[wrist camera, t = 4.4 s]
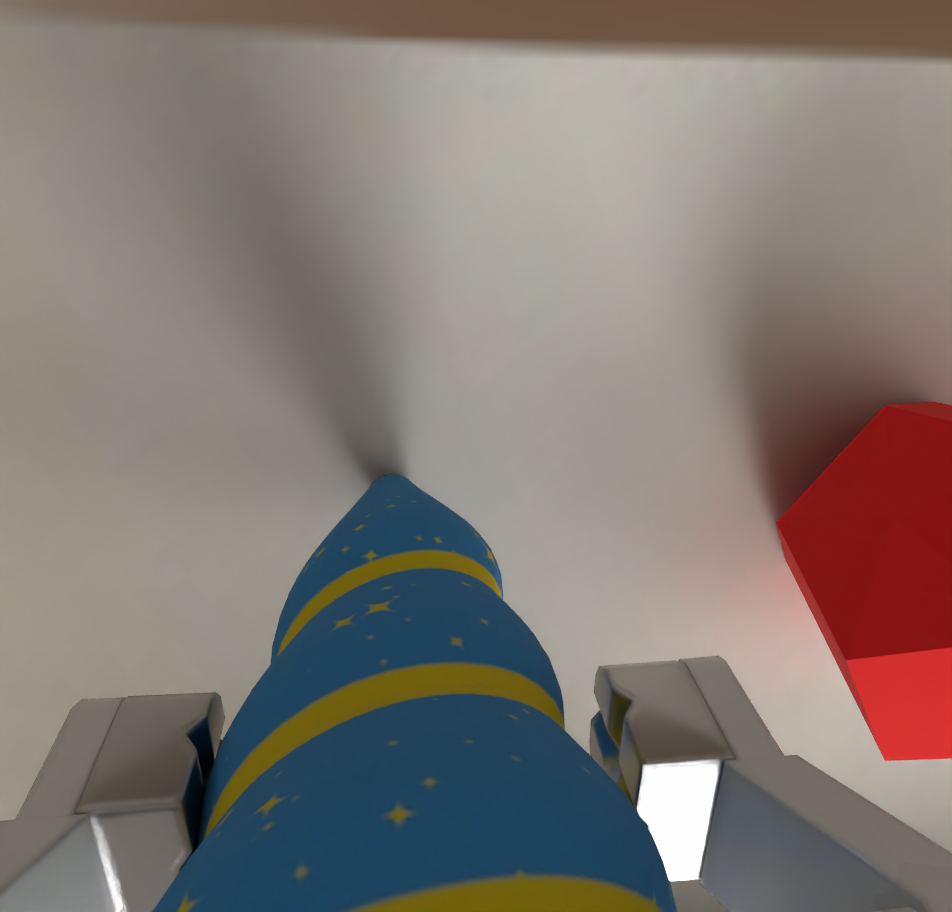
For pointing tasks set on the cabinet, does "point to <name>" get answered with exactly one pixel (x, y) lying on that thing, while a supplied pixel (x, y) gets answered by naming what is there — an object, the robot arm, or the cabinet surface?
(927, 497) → the red dodecahedron
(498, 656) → the ornament
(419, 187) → the cabinet surface
